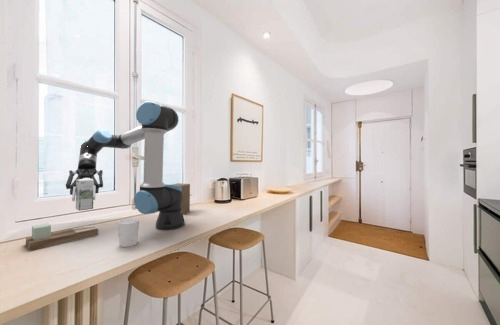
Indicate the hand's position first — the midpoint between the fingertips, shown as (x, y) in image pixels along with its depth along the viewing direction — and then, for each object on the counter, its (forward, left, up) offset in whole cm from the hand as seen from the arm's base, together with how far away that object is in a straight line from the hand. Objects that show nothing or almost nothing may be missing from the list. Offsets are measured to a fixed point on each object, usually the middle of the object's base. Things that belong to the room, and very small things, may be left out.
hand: (83, 198), depth 98 cm
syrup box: (+3, -1, -6) cm, 7 cm away
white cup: (-25, -9, -18) cm, 32 cm away
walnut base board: (+3, +6, -18) cm, 19 cm away
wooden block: (+4, -55, -18) cm, 58 cm away
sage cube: (+3, +14, -15) cm, 21 cm away
